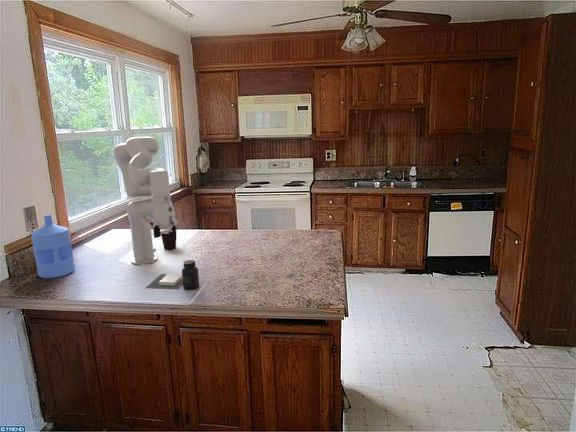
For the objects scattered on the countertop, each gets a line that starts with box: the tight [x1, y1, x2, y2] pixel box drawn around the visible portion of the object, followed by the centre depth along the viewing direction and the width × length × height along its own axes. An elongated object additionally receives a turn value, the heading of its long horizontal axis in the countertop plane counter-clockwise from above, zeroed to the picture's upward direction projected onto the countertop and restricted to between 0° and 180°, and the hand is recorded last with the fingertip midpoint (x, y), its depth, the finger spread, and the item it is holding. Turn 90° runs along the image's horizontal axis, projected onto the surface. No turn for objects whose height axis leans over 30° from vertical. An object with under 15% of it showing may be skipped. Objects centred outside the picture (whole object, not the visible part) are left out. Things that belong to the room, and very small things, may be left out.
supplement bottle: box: [181, 259, 200, 291], centre depth 168 cm, size 7×7×12 cm
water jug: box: [30, 215, 76, 279], centre depth 187 cm, size 16×16×28 cm
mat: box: [145, 273, 183, 290], centre depth 176 cm, size 16×15×1 cm
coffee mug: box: [160, 228, 177, 251], centre depth 224 cm, size 12×9×10 cm
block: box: [159, 273, 182, 286], centre depth 175 cm, size 9×2×7 cm
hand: (165, 238), depth 170 cm, fingers open, 9 cm apart
